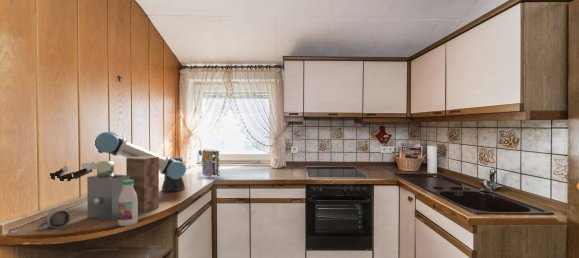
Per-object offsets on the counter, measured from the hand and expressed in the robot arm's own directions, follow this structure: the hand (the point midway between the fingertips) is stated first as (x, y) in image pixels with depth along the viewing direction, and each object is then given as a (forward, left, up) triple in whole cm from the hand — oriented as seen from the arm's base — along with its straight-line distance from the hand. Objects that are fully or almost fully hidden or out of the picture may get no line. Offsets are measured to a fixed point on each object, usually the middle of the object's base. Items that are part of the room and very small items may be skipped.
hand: (81, 165), depth 144 cm
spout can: (0, +11, -5) cm, 12 cm away
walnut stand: (-15, +25, -25) cm, 38 cm away
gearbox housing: (0, +19, -25) cm, 31 cm away
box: (-105, +4, -25) cm, 108 cm away
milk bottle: (+5, +37, -25) cm, 45 cm away
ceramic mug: (+19, +9, -25) cm, 33 cm away
